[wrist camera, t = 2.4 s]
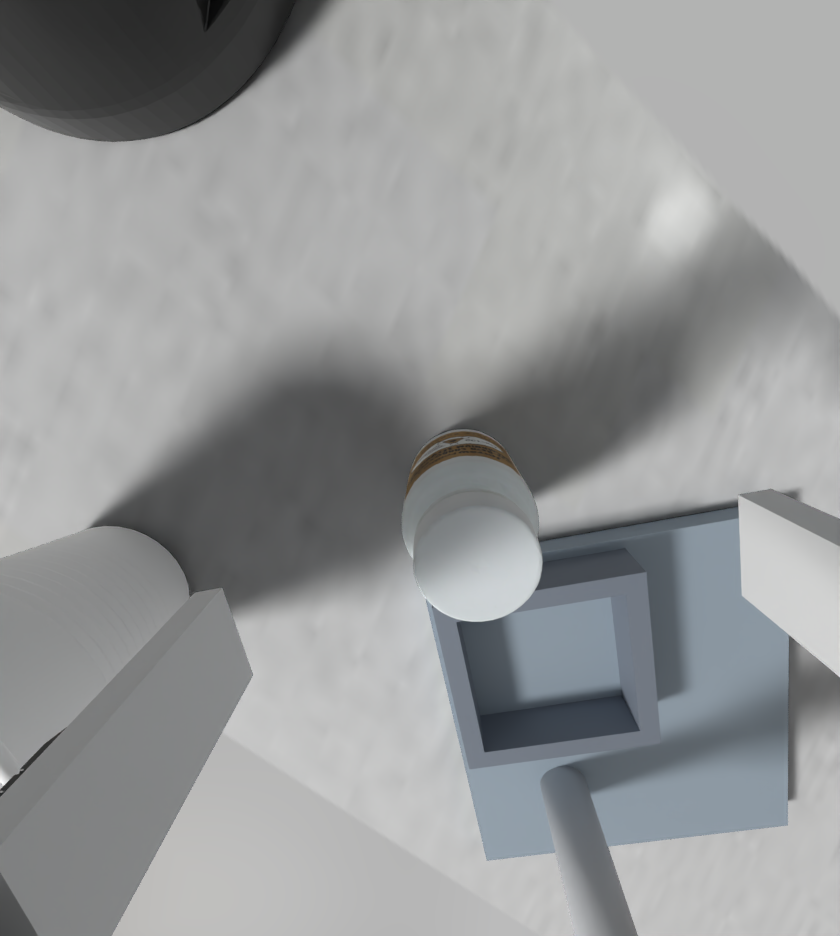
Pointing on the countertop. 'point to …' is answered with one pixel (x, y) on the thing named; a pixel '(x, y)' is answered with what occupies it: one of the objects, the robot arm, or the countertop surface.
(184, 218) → the countertop surface
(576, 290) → the countertop surface
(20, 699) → the cup
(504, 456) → the pill bottle
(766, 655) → the board
